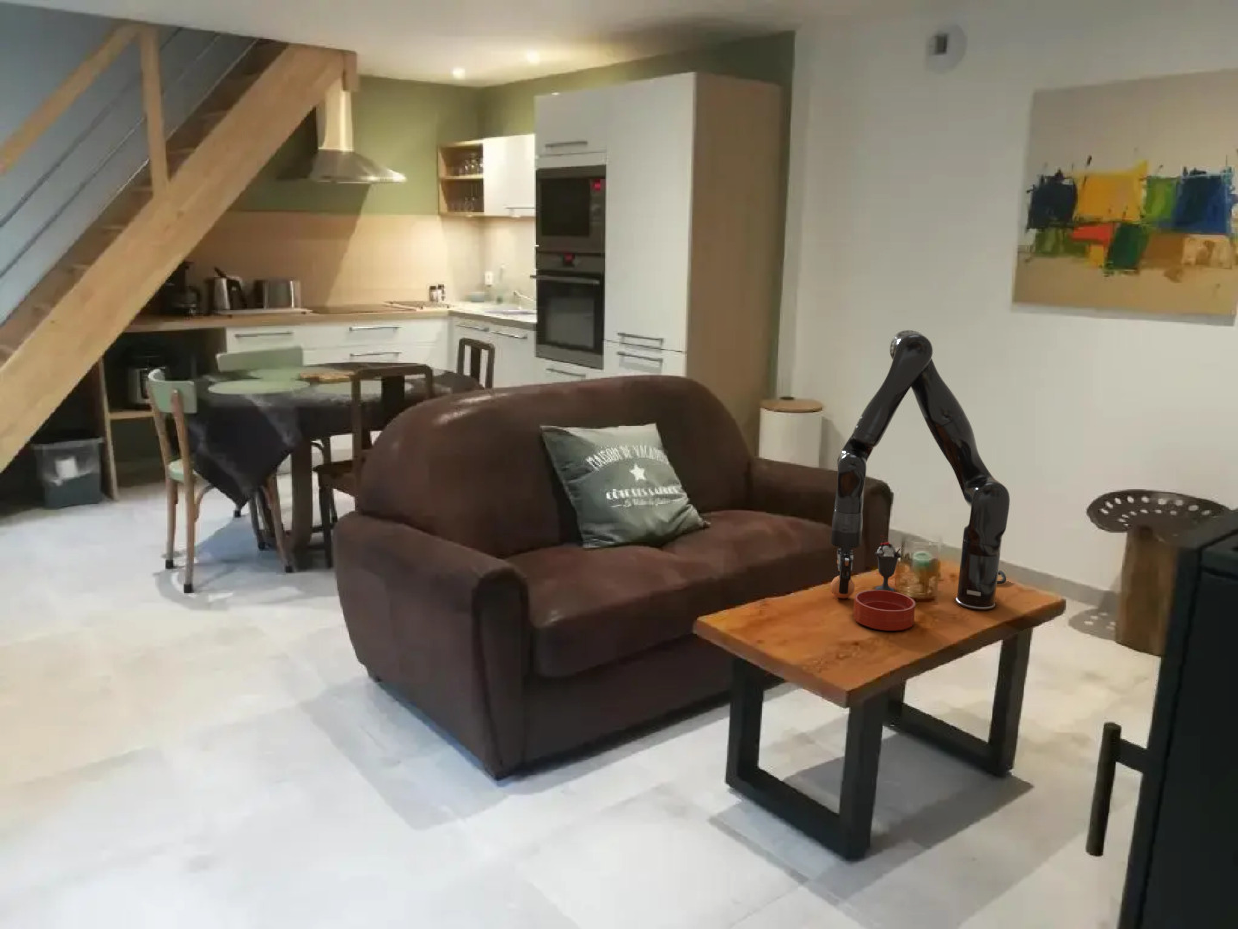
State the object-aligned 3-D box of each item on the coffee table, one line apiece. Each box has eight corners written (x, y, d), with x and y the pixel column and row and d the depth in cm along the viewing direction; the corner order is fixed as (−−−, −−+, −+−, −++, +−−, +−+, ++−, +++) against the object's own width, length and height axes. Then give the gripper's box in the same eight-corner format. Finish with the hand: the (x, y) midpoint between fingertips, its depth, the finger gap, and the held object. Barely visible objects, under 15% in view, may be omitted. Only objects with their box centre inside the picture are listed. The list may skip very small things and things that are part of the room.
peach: (836, 591, 256) (838, 567, 255) (857, 597, 253) (859, 572, 251) (825, 598, 252) (827, 573, 250) (847, 603, 248) (849, 578, 247)
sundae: (867, 586, 261) (871, 533, 257) (889, 584, 262) (894, 531, 259) (879, 595, 255) (883, 540, 251) (902, 593, 256) (907, 539, 253)
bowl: (868, 606, 247) (870, 585, 246) (922, 620, 238) (924, 599, 237) (843, 622, 236) (844, 601, 235) (898, 637, 227) (900, 615, 226)
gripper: (864, 536, 240) (859, 599, 244) (859, 520, 254) (855, 580, 258) (833, 534, 242) (829, 597, 245) (830, 518, 255) (826, 578, 259)
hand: (842, 588), depth 252 cm, fingers open, 6 cm apart
